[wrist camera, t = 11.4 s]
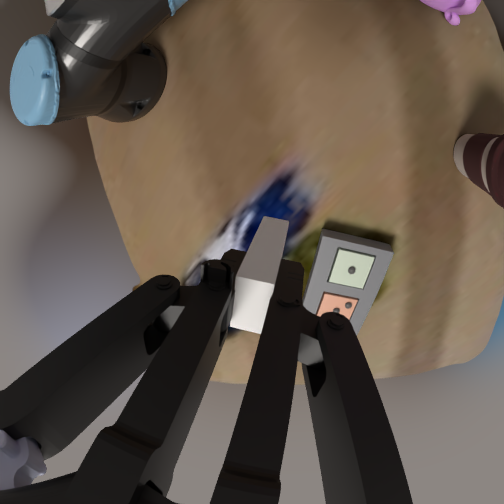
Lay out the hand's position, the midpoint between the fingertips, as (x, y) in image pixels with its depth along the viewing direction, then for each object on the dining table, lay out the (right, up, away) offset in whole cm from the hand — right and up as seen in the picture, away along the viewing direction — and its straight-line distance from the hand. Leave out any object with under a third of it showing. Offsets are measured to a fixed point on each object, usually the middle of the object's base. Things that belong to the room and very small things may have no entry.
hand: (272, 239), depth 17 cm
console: (+14, -9, +32) cm, 36 cm away
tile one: (+15, -2, +28) cm, 32 cm away
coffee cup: (+34, +15, +15) cm, 40 cm away
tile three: (+14, -10, +32) cm, 36 cm away
